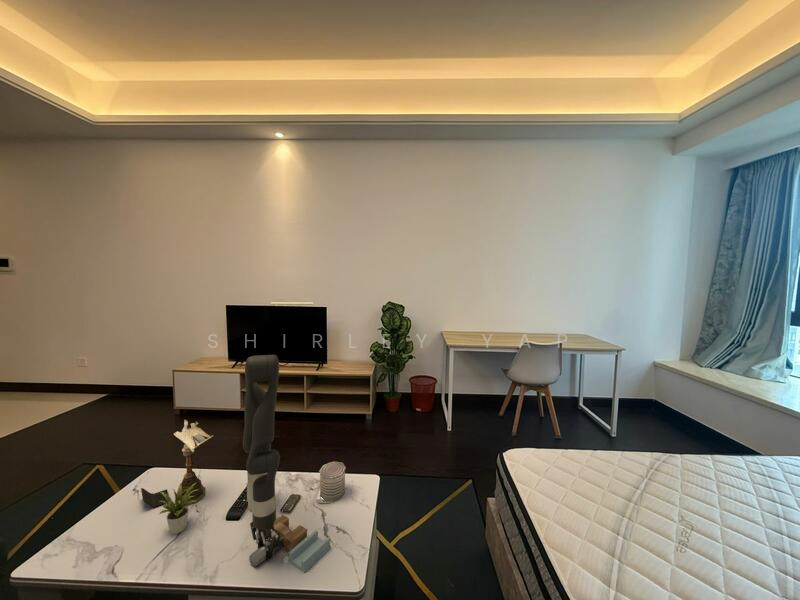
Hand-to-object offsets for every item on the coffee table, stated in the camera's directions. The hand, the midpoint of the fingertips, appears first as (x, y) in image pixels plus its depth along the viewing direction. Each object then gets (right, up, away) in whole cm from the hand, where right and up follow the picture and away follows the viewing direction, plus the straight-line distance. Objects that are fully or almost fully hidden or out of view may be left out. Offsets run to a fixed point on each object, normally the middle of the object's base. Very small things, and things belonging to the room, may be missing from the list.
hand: (265, 555), depth 113 cm
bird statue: (-43, +1, +31) cm, 53 cm away
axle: (+1, +2, +2) cm, 3 cm away
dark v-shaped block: (-59, +1, +28) cm, 65 cm away
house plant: (-37, 0, +12) cm, 39 cm away
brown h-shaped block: (+5, 0, +8) cm, 9 cm away
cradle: (+15, 0, +1) cm, 15 cm away
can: (+17, +1, +33) cm, 37 cm away
